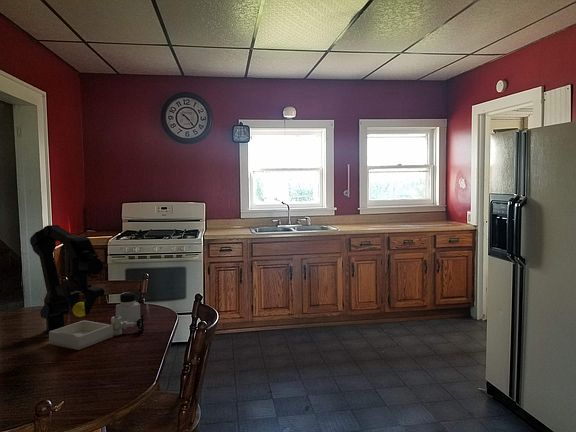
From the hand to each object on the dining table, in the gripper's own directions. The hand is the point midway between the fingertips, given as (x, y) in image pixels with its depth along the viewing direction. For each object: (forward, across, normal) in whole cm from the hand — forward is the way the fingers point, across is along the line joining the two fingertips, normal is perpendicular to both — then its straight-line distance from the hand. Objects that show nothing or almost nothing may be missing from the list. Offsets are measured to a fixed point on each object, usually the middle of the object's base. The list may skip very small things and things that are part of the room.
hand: (80, 313), depth 160 cm
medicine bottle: (+10, -2, +25) cm, 27 cm away
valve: (+10, +9, +13) cm, 19 cm away
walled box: (+10, 0, 0) cm, 10 cm away
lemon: (+1, 0, 0) cm, 1 cm away
